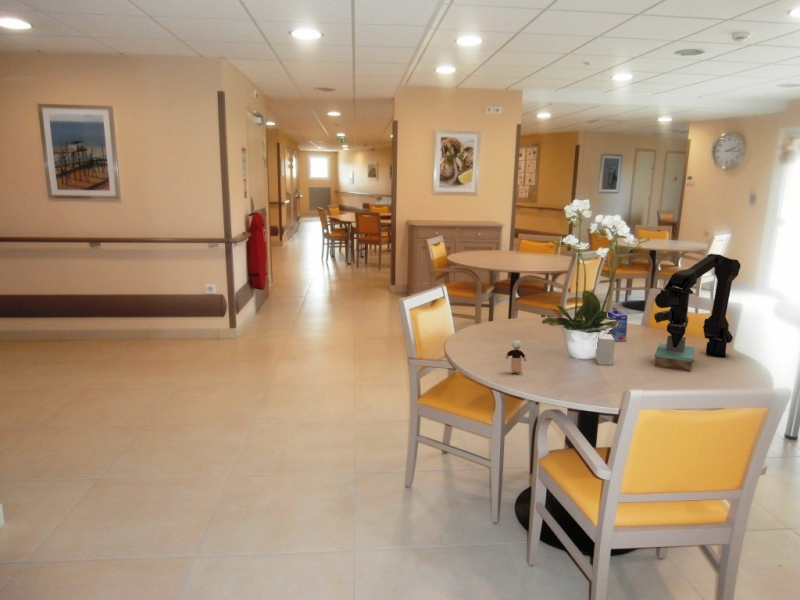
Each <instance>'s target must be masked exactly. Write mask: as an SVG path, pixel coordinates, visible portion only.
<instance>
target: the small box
mask: <svg viewBox="0 0 800 600" xmlns="http://www.w3.org/2000/svg"><path fill="white" fill-rule="evenodd" d="M604 334H605V335H604V336H602V337H598V342H597V349H596V348H595V354H596V355H595V356H594V358H595V361H596V362H597V364H598V365H603V366H604V365H605V366H606V365H608V366H613V365H614V358H615V357H614V355H615V354H614V353H615V339H614V338H613V337H612V335H611V334H606V333H604Z"/></svg>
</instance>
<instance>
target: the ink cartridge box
mask: <svg viewBox="0 0 800 600" xmlns="http://www.w3.org/2000/svg"><path fill="white" fill-rule="evenodd" d="M612 309H613V310H607V311H608V317H609V320H616V321H617V322H618V325H617V327H615V328H613V329H611V330H609V332H608V333H607V334H611V335H612V337H613V338H614V339H615V342H627V333H628V332H627V331H628V329H627V328H628V314H627V313H624V312H621V311H619V310H618V309H617V308H615V307H612Z"/></svg>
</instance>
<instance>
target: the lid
mask: <svg viewBox="0 0 800 600" xmlns="http://www.w3.org/2000/svg"><path fill="white" fill-rule="evenodd" d="M666 347H667V343H663V342H659V344H658V346H657V348H656V350H655V352H654V357H655V358H656V357H662V358H669V359H677V360H684V361H691V362H692V363H693V359H694V354H695V347H694V346H688V345H685V348H684V353H680V352H672V351H666Z"/></svg>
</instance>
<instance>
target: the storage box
mask: <svg viewBox="0 0 800 600" xmlns="http://www.w3.org/2000/svg"><path fill="white" fill-rule="evenodd" d="M692 364H693V361H692V362H691V361H684V360H677V359H669V358H662V357H655V360H654V367H656V368H657V367H658V368H664V369H672V370H677V371H678V370H679V371H686V372H691V368H692Z"/></svg>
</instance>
